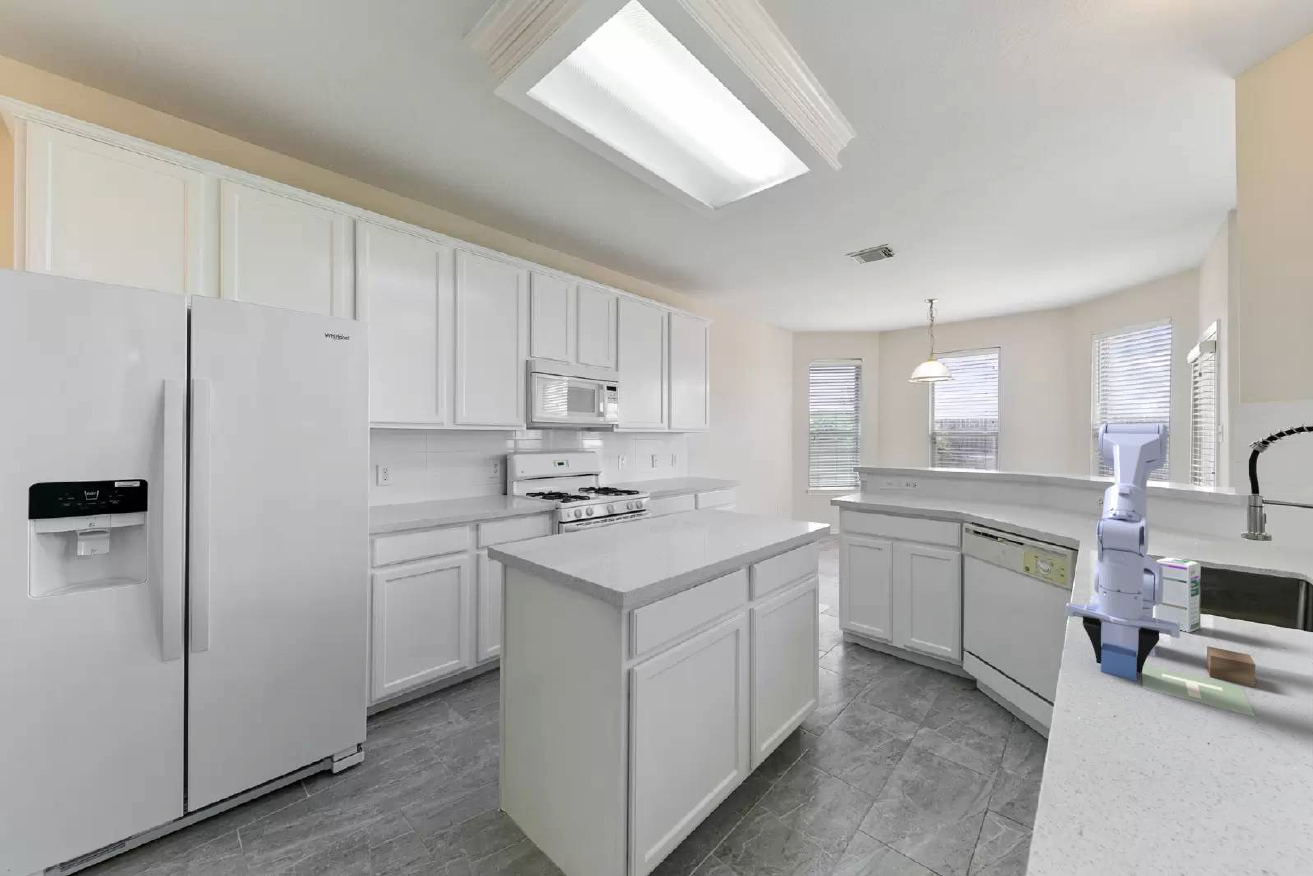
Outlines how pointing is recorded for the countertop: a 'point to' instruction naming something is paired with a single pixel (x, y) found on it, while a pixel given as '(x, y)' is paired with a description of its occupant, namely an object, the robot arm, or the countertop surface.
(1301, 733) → the countertop surface
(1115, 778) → the countertop surface
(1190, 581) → the syrup box
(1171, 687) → the board
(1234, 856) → the countertop surface
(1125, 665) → the blue cube
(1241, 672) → the walnut block
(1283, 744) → the countertop surface
